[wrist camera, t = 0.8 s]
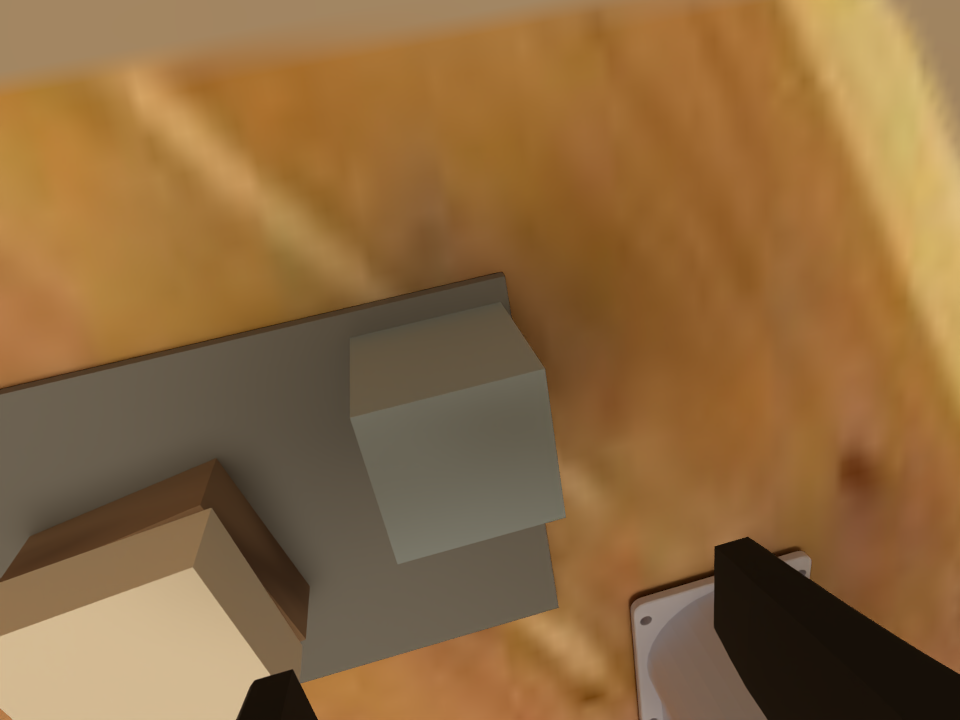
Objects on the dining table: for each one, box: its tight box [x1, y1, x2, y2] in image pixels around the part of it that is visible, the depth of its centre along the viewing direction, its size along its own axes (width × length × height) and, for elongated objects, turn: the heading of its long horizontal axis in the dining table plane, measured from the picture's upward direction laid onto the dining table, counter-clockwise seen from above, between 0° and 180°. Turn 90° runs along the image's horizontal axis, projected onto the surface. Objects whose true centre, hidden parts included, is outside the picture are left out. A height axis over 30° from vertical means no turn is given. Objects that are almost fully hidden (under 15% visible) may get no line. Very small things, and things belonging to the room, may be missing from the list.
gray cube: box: [350, 302, 566, 564], centre depth 16 cm, size 4×4×4 cm
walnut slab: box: [0, 458, 310, 642], centre depth 18 cm, size 6×6×2 cm
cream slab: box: [0, 508, 302, 720], centre depth 16 cm, size 6×6×2 cm
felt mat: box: [0, 272, 559, 683], centre depth 20 cm, size 14×18×1 cm
